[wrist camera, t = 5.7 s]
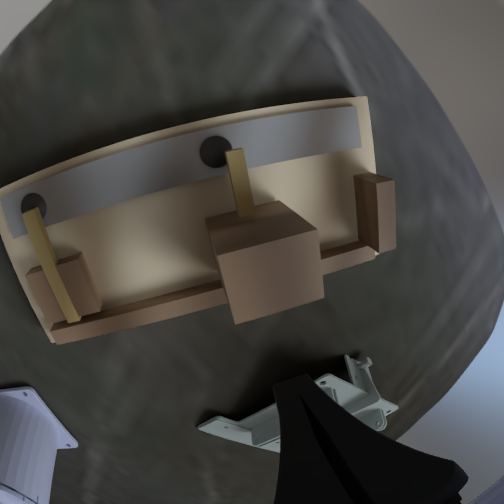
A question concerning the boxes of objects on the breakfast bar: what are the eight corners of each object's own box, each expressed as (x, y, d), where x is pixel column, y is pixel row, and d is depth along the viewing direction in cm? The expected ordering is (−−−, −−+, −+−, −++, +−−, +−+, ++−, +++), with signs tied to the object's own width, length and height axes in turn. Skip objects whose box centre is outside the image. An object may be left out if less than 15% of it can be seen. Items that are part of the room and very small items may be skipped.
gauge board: (56, 332, 18) (42, 367, 15) (-4, 190, 14) (-35, 205, 11) (370, 247, 21) (400, 269, 18) (356, 97, 17) (391, 95, 14)
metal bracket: (324, 382, 18) (420, 423, 24) (309, 313, 22) (403, 374, 28) (188, 449, 23) (304, 474, 29) (192, 394, 28) (299, 431, 34)
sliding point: (218, 273, 18) (235, 324, 13) (190, 157, 15) (196, 171, 11) (287, 254, 18) (324, 297, 14) (268, 140, 16) (306, 147, 11)
